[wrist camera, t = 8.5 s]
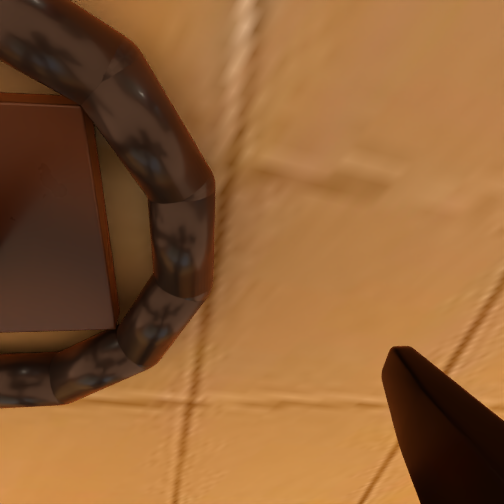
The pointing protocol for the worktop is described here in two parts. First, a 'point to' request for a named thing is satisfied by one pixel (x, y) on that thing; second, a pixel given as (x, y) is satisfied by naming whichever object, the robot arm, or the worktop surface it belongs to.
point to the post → (52, 219)
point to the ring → (145, 174)
